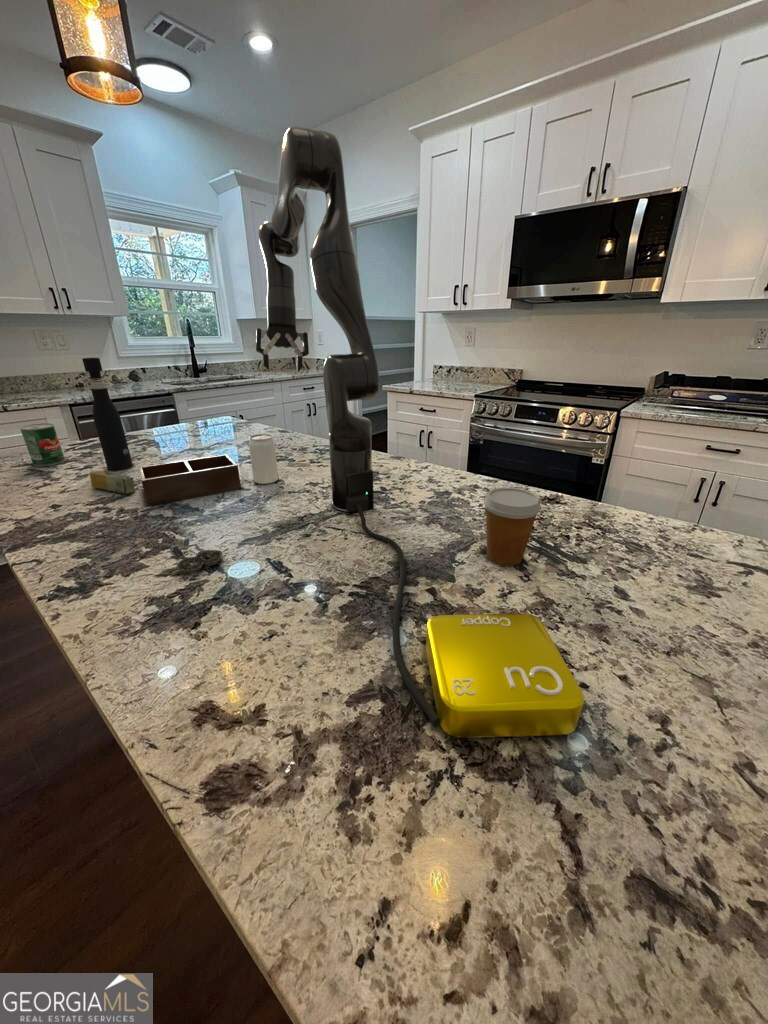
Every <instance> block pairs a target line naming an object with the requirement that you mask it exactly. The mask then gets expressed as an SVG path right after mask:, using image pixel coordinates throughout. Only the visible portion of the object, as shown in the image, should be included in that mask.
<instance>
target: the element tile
mask: <svg viewBox="0 0 768 1024" xmlns="http://www.w3.org/2000/svg"><path fill="white" fill-rule="evenodd" d="M425 637H426V639H425V653H426V658H427V665H428V670H429V675H430V682H431V687H432V694H433V698H434V704H435V711H436V714H437V715H438V717H439V724H438V725H440V727H441V729H442V731H443V732H445V733H446V734H448V735H449V736H451V737H454V738H459V739H460V738H461V739H465V738H466V739H467V738H468V739H469V738H471V739H473V738H505V737H507V738H508V737H536V736H537V737H543V736H545V737H546V736H565V735H570V734H571V733H573V732H575V730H576V728H577V727H578V724H579V720H580V717H581V713H582V710H583V706H584V703H585V702H584V693H583V691H582V689H581V688H580V686H579V684H578V683H577V681H576V679H575V677H574V676H573V673H572V672H571V670H570V668H569V667H568V665H567V663H566V661H565V660H564V658H563V656H562V655H561V653H560V651H559V649H558V648H557V646H556V644H555V642H554V640H553V639H552V636H551V635H550V634H549V631H548V630H547V628H546V627H545V624H544V623H543V622H542V621H541V620H540V619H539V618H537V616H535V615H532V614H527V613H482V614H481V613H479V614H477V613H476V614H473V613H472V614H438V615H435V616H432V617H430V618H429V619H428V621H427V623H426V635H425Z"/></svg>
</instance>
